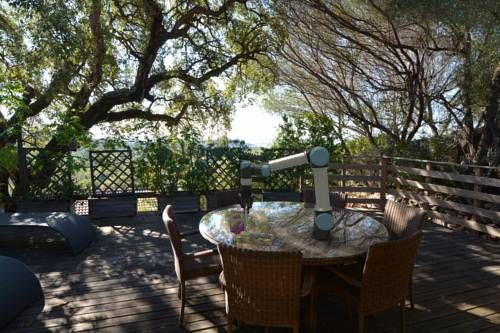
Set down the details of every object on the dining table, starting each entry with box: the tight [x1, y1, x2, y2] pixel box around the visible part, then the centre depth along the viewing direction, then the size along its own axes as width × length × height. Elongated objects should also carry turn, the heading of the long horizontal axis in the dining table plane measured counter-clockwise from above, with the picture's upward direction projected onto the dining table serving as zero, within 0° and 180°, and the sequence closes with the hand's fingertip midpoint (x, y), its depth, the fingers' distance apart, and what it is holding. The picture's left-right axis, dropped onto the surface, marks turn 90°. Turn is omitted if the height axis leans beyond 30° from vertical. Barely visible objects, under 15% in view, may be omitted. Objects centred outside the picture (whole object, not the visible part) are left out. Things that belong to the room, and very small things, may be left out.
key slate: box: [251, 230, 262, 238], centre depth 213 cm, size 5×5×3 cm
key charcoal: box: [261, 235, 271, 239], centre depth 211 cm, size 5×5×3 cm
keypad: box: [235, 231, 276, 246], centre depth 213 cm, size 24×14×3 cm, turn 75°
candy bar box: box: [229, 208, 247, 234], centre depth 231 cm, size 11×5×16 cm, turn 70°
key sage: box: [241, 233, 251, 237], centre depth 215 cm, size 5×5×3 cm
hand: (246, 218), depth 214 cm, fingers closed
